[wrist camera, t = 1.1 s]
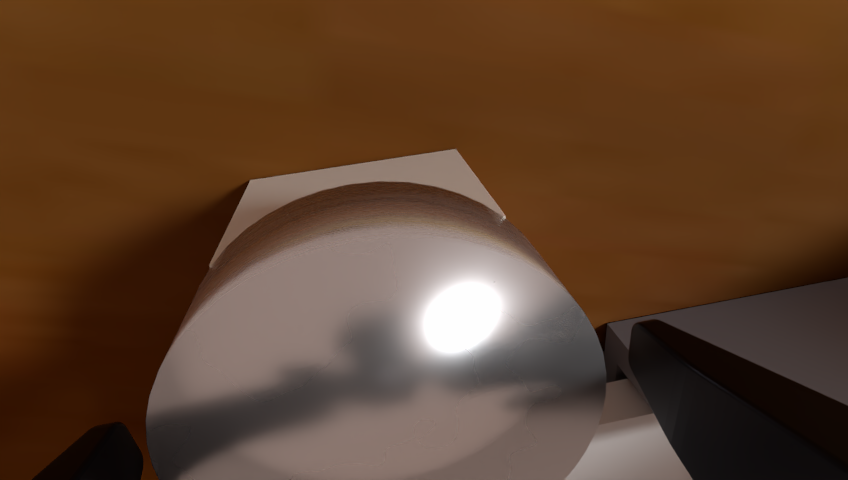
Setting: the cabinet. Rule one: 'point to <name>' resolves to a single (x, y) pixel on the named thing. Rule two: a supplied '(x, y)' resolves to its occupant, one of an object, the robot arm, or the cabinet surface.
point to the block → (420, 169)
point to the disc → (378, 349)
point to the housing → (762, 335)
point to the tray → (628, 442)
